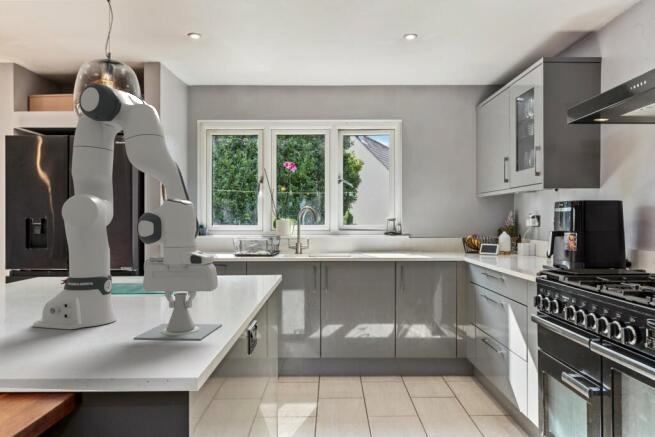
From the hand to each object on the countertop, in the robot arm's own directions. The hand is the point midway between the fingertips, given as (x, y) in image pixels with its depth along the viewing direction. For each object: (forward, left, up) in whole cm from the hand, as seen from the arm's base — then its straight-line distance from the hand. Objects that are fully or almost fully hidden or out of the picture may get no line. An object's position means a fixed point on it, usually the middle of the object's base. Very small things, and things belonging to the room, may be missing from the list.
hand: (180, 307), depth 124 cm
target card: (0, 0, -7) cm, 7 cm away
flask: (0, 0, -6) cm, 6 cm away
